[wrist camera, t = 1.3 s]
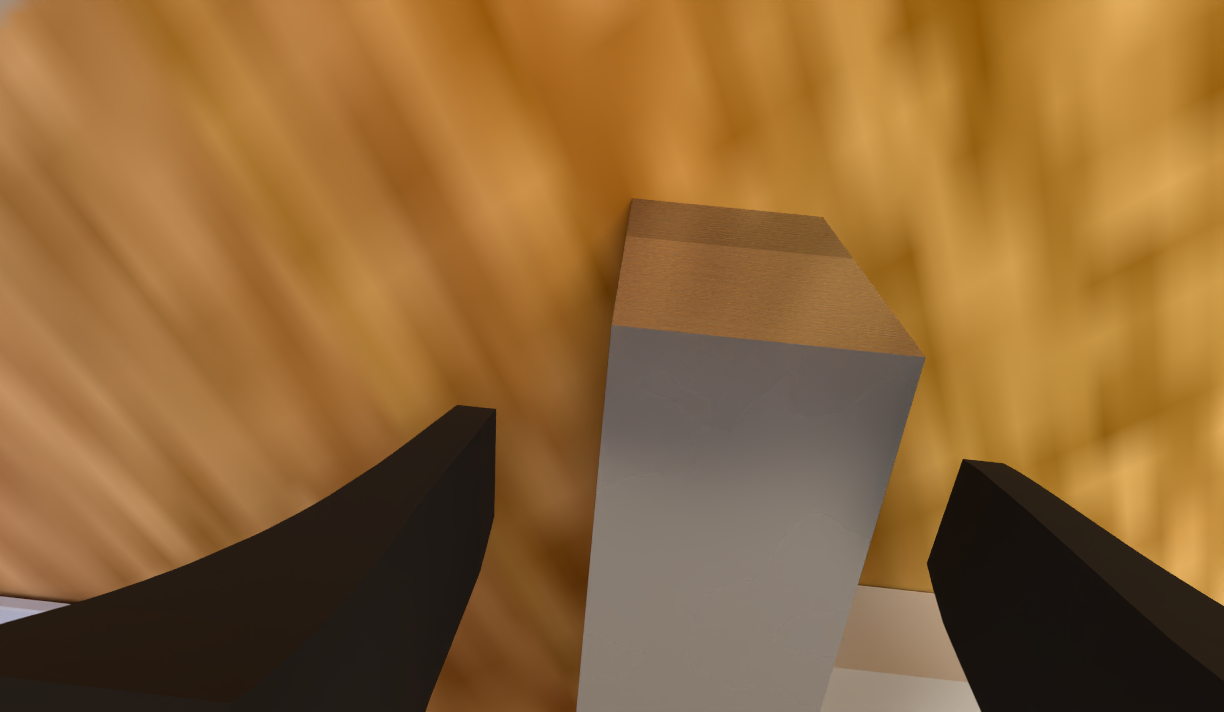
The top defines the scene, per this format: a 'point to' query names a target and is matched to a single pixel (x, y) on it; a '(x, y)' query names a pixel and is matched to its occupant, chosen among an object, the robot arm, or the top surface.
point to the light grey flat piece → (896, 658)
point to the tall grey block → (737, 461)
